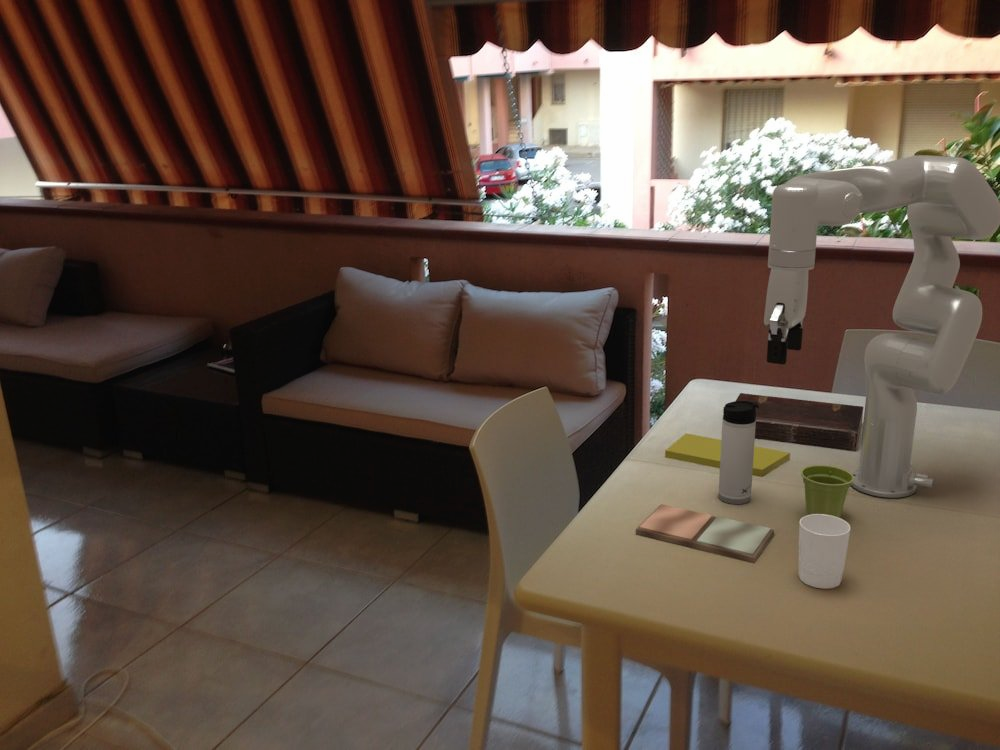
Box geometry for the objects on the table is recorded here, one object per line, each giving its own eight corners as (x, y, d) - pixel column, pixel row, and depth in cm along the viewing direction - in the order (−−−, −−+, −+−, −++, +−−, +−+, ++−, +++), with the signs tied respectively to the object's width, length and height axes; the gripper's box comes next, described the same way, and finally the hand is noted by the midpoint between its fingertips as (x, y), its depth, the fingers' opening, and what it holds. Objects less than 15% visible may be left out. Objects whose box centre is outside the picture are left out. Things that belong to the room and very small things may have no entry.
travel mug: (753, 505, 181) (759, 409, 175) (718, 503, 183) (723, 407, 177) (751, 492, 187) (757, 398, 181) (718, 490, 189) (723, 397, 183)
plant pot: (812, 501, 183) (815, 460, 180) (858, 516, 176) (862, 473, 174) (788, 517, 177) (791, 474, 174) (835, 532, 170) (839, 489, 168)
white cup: (838, 595, 149) (844, 539, 146) (789, 583, 153) (793, 528, 150) (849, 574, 156) (855, 520, 153) (802, 563, 160) (806, 509, 157)
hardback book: (724, 436, 218) (725, 416, 217) (739, 411, 235) (740, 393, 233) (855, 453, 207) (857, 432, 206) (861, 426, 223) (863, 406, 222)
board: (773, 534, 170) (774, 527, 169) (754, 562, 160) (754, 555, 160) (660, 509, 181) (660, 502, 180) (635, 534, 171) (635, 527, 171)
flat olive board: (665, 459, 206) (772, 481, 194) (665, 450, 205) (773, 471, 193) (685, 442, 216) (789, 462, 203) (686, 433, 215) (790, 452, 203)
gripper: (783, 249, 166) (776, 341, 171) (754, 265, 152) (747, 365, 157) (826, 252, 162) (818, 346, 167) (800, 269, 148) (792, 372, 153)
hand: (784, 356), depth 162 cm, fingers open, 9 cm apart
